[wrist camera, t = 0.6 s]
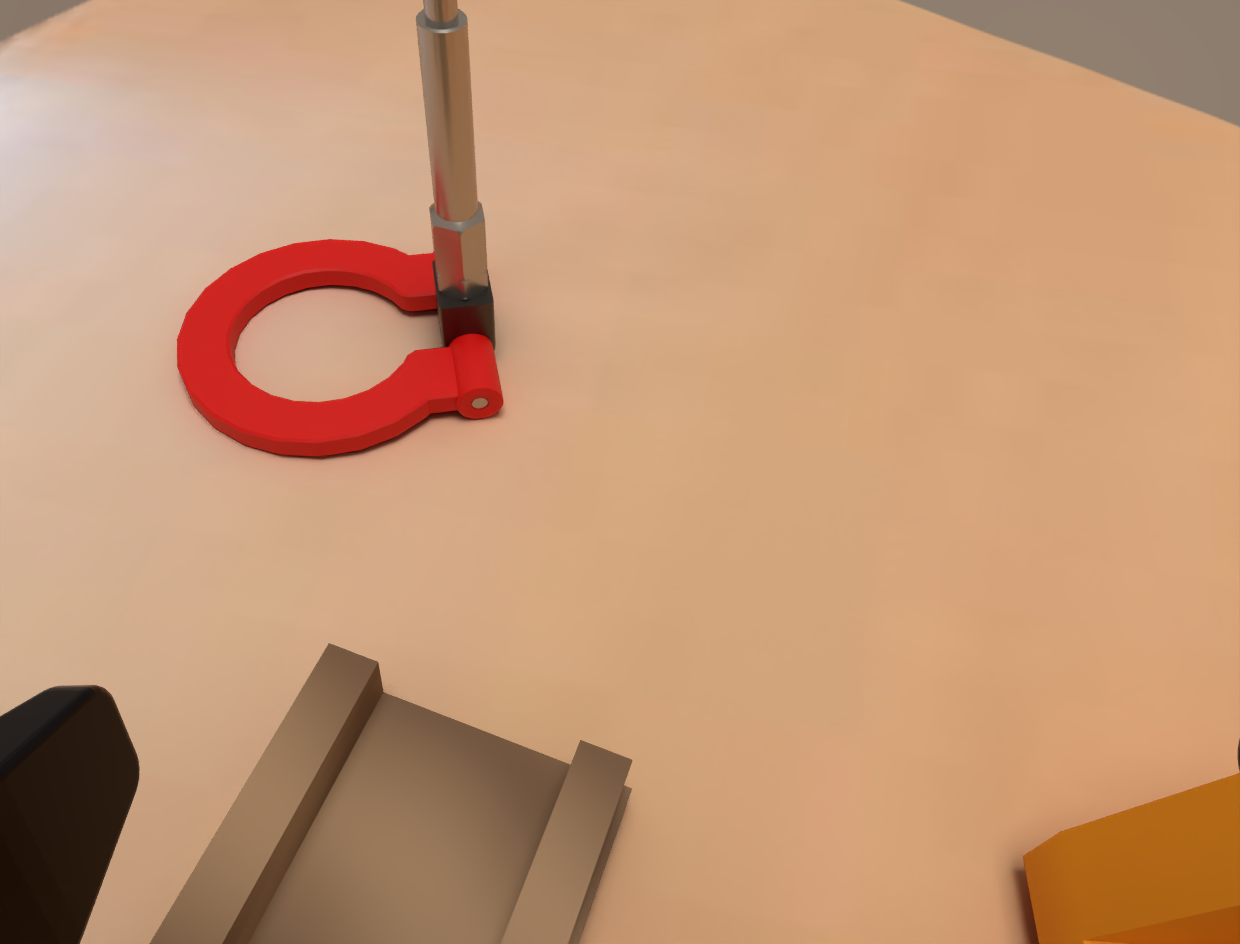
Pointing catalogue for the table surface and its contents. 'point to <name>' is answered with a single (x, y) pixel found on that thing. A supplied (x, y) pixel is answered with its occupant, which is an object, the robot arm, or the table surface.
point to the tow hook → (410, 281)
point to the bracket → (1144, 873)
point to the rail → (401, 830)
